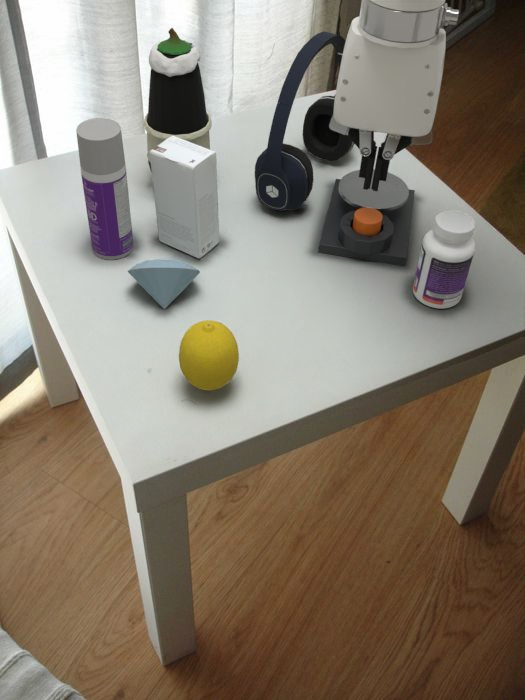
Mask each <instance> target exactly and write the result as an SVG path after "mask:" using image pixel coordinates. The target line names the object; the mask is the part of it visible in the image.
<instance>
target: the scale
mask: <svg viewBox="0 0 525 700" xmlns="http://www.w3.org/2000/svg"><path fill="white" fill-rule="evenodd" d="M341 179H342V178H335V180H334V184H333V188H332V191H331V195H330V199H329V203H328V207H327V211H326V215H325V220H324V223H323V227H322V231H321V234H320V239H319V242H318V250H317V251H318V253H322V254H327V255H334V256H340V257H347V258H351V259H358V260H359V259H360V260H364V261H365V260H366V261H371V262H376V263H377V262H378V263H384V264H390V265H397V266H403V267H405V266H406V262H407V255H408V246H409V238H410V231H411V223H412V215H413V207H414V206H413V205H414V199H415V192H416V191H415V189H409V188H408V190H409V195H408V199H407V201H406V202H405V204H403V205H402V206H401V207H399V208H397V209H394V210H391V211H385V212H380V213H381V214H382V217H383V218H382V224H381V229H380V232H379V233H378V234H376V235H371V236H368V235H362V234H359V233H357V232H355V231H354V229H353V220H354V213H355V212H356V210H358V209H359V208H356V207H354V206H352V205H350V204H349V203H347V202H346V201H345V200H344V199H343V198H342V197H341V195H340V193H339V183H340V180H341Z"/></svg>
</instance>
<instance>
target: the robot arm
mask: <svg viewBox="0 0 525 700" xmlns="http://www.w3.org/2000/svg"><path fill="white" fill-rule="evenodd" d="M359 9H360V10H359V16H356V17H355V18H353V19H352V20H351V23H350V26H349V29H348V32H347V35H346V39H345V41H346V42H345V46H344V51H343V55H342V60H341V65H340V71H339V70H338V77H337V83H336V88H335V94H334V95H335V101H334V112H333V115H332V117H331V120H330V124H329V128H330V129H331V130H333V131H336V132H338V133H341V134H343V135H348V136H349V137H350V139H351V140H352V141H353V142H354V146H356V147H357V148H358V150H359V154H360V156H361V160H360V166H359V170H360V172H359V177H361V178H365V181H364V187H363V189H365V190H368V189H370V185H371V180H372V175H373V169H375V170H374V176H373V182H372V188H371V189H373V191H378V186H379V180H380V181H386V178H387V173H389V167H390V163H391V160H393V158H394V156H395V155H397V154H398V153H400V152H402V151H403V150H404V149H407V147H409V146H412V145H413V146H423V145H430V144H431V143H432V142H433V136H434V129H433V127H434V126H433V125H434V121H435V117H436V113H437V109H438V104H439V103H438V102H439V97H440V92H441V86H442V82H443V81H442V80H443V74H444V67H445V56H446V47H447V44H446V43H447V36H446V35H447V33H446V30H445V29H444V26H445V27H446V26H447V27H448V25H449V26H457V24H458V20H459V14H460V9H454V8H452V7H451V6H448V3H447V2H446V0H361V2H360V8H359ZM375 133H382V134H386V135H385V138H384V141H383V142H381V143H380V146H378V145H377V142H376V140H375Z"/></svg>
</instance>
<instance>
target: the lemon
mask: <svg viewBox="0 0 525 700" xmlns="http://www.w3.org/2000/svg"><path fill="white" fill-rule="evenodd" d="M179 344H180V345H179V351H178V362H179V366H180V371H181V373H182V375H183V376H184V378H185V379H186V381H187V382H188V383H189V384H190V385H191V386H193V387H195V388H197V389H199V390H203V391H215V390H216V391H217V390H219V389H221V388H223V387H225V386H226V385H228V383H229V382H231V381H232V379H233V378H234V376H235V374H236V372H237V370H238V366H239V361H240V354H239V347H238V346H239V345H238V342H237V339H236V338H235V336H234V333H233V332H232V331H231V329H229V327H228V326H227V325H225V324H224V323H222V322H219V321H217V320H209V319H208V320H207V319H205V320H201V321H198V322H196V323H194V324H193V325H191V326H189V328H188V329H187V330H185V332H184V334H183V337H182V338H181V340H180V343H179Z"/></svg>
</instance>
